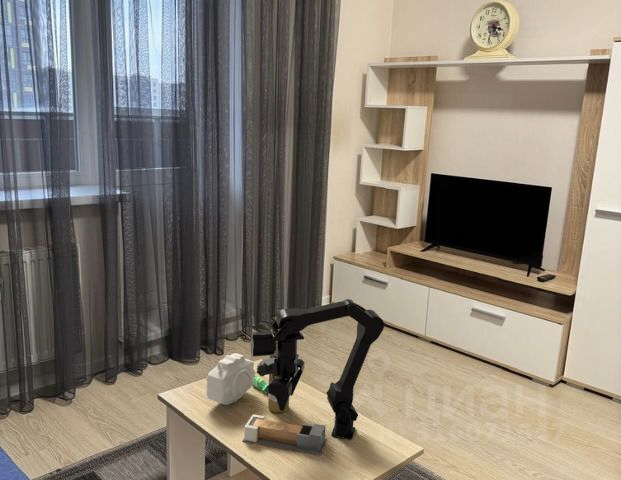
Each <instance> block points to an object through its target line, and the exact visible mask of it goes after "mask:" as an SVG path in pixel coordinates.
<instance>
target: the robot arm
mask: <svg viewBox="0 0 621 480" xmlns="http://www.w3.org/2000/svg"><path fill="white" fill-rule="evenodd" d="M346 317H350V318H352V319H353V320H354V321H355V322H357V325H356V339H355V341H354V343H353V345H352V348H351V351H350V352H349V355H348V358H347V361H346V363H345V365H344V368H343V371H342V373H341V375H340V378H339V380H338V381H336V382H335V383H334V382H332V381H331V382H330V384H329V388H328V390H327V391H326V395H327V397H326V399H327V402H328V403H329V405H330V407H331V409H332V411H333V414H334V425H333V429H332V432H331V436H332V437H334V438H341V439H346V440H353V438H354V436H355V432H356V427H355V426H354V422H356V421H357V419H358V417H359V413H358V412H357V410H356V408H355V407H354V406H353V401H354V389H355V384H356V382H357V380H358V377H359V374H360V373H361V371H362V368H363V365H364V364H365V363H364V362H365V360H366V358H367V355H368V353H369V350H370V348H371V346H372V344H373V343H374V342H376V341H377V340H378V339H379V338H380V336H381V334H382V333H383V331H384V329H385V322H384V320H383V319H382V318H381V316H379V314H378V313H377V312H376V311H375V310H373V309H366V308H365V307H363V306H361V305H360V304H357V303H355V302H354V300H352V299H350V298H347V299H344V300H342V301H341V300H340V301H337V302H332V303H328V304H323V305H320V306H319V305H318V306H315V307H310V308H298V307H296V308H295V307H294V308H293V307H292V308H291V307H290V308H282V309H280V310H279V311H278V313H277V314H276V316H275V320H274V322H272V324H271V325H270V327H269V328H268V330H269V331H265V332H264V331H262V332H258V331H252V332H251V338H250V339H251V340H250V342H249V343H250V355H251V357H252V358H254V357H256V358H257V357H266V356H269V358H266V359H263V360H261V361H260V362H259V363H258V364H257V366H256V373H257V374H258V375H259V377H260V378H261V377H264V376H267V375H268V376H269V374H272V373H273V376H279V377H281V379H275V378H274V379H273V380H271V382H270V383H269V382H268V384H269V385H268V386H267V393H266V394H272V395H274V396H275V397H276V399H277V402H278V406H279V409H280V410H281V411H284V409H285V407H286V404H287V402H288V399H289V400H290V398H291V397H292V396H293V395H294V392H295V391H296V388H297V385H298V383H299V382H300V379H301V377H302V375H303V373H304V369H305V361H304V360H303V359H302V358H299V356H300V355H299V354H298V341H299V340H305V336H304V335H303V333H302V331H303V330H304V329H306V328H307V327H310V326H312V325H315V324H320V323H325V322H328V321H329V322H330V321H333V320H337V319H341V318H342V319H343V318H346ZM276 341H277V357H276V358H270V355H272V354H274V351H276Z"/></svg>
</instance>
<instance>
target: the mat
mask: <svg viewBox="0 0 621 480" xmlns="http://www.w3.org/2000/svg"><path fill="white" fill-rule="evenodd" d="M242 443H249V444H254V445H259V446H264V447H270V448H271V447H272V448H276V449H282V450H287V451H293V452H298V453H305V454H310V455H314V456H315V455H316V456H320V457H321V456H322V453H323V450H324V448H325V446H326V443H327V438H325V441H324V444H323V446H322V449H321V452H316V451H310V450H305V449H299V448H297V445H294V444H289V443H283V442H277V441H272V440H266V439H260V438H258V440H257V442H253V441H247V440H244V438H243V439H242Z"/></svg>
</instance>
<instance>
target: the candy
mask: <svg viewBox="0 0 621 480" xmlns="http://www.w3.org/2000/svg"><path fill="white" fill-rule="evenodd" d="M268 385H269V383H266V381H265V380H264V379H263V378H261V377H260V376H258V375H257V376H256V375H255V376H254V384H253V385H252V386H253V387H255V388H256V389H258V390H260V391H263V392H264V393H265V395H267V394H268V393H267V386H268Z"/></svg>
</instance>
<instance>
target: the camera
mask: <svg viewBox="0 0 621 480" xmlns="http://www.w3.org/2000/svg"><path fill="white" fill-rule="evenodd" d="M254 366H255V364H254V361H252V360H251V359H248V358H245V357H244V355H242V354H241V353H231V354H230V355H229V354H226V355H224V358H222V359H220V360H219V361H218V362H217V365H216V366H214V368H213V369H211V370H210V371H209V372H208V374H207V377H206V397H207V398H208V399H209V400H211V401H213V402H216V403H219V404H222V405H224V406H229V405H231V404H232V403H237V402H238V400H239V399H240V398H242V397H243V396H244V395H245V394H246V393H247V391H249V390H250V388H252V386H254V385H253V384H254V376H255V377H256V370H255V369H254V368H255V367H254Z"/></svg>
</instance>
